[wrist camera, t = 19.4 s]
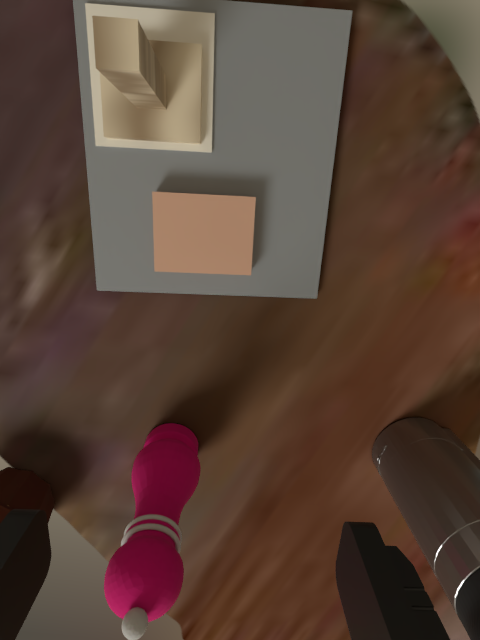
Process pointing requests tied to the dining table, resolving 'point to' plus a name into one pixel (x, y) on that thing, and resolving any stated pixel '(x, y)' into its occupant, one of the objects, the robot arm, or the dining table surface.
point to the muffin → (24, 492)
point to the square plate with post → (147, 84)
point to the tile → (203, 233)
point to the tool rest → (162, 29)
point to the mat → (232, 151)
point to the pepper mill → (153, 530)
